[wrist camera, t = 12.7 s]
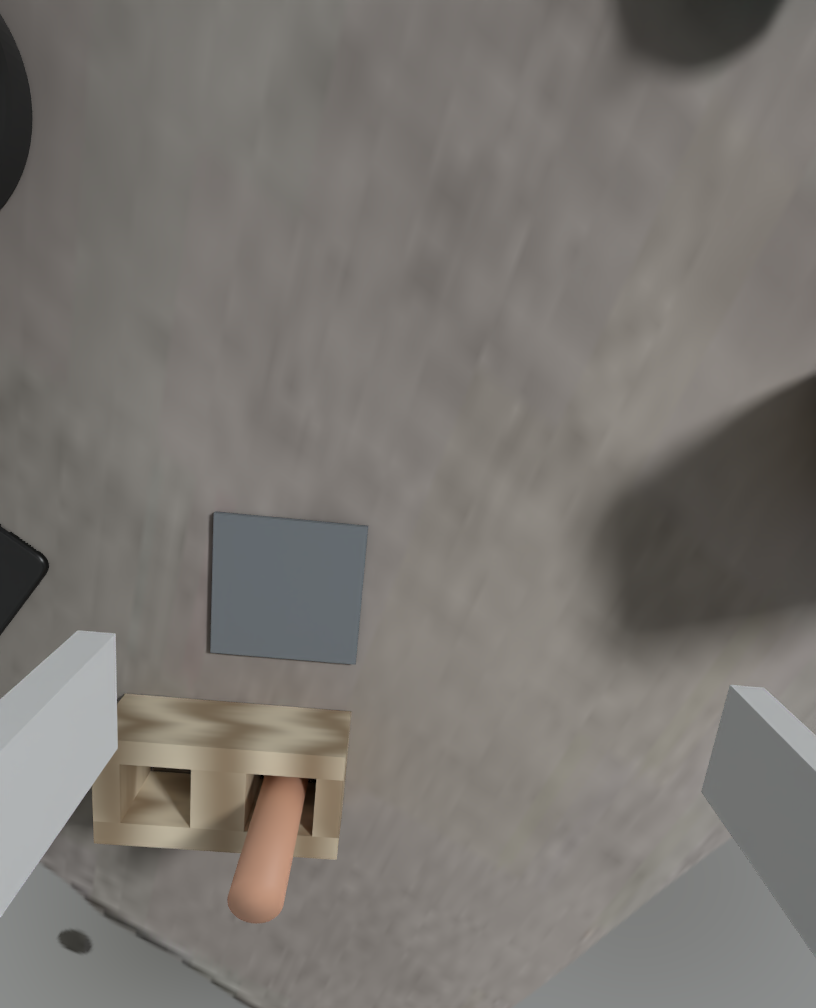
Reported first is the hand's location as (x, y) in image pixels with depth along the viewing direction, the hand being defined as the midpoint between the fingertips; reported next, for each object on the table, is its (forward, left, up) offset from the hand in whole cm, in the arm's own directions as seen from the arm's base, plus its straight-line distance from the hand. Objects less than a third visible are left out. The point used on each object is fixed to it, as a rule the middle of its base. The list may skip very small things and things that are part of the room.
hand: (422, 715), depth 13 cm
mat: (-7, -9, -27) cm, 29 cm away
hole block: (-10, -22, -27) cm, 36 cm away
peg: (-6, -22, -27) cm, 35 cm away
